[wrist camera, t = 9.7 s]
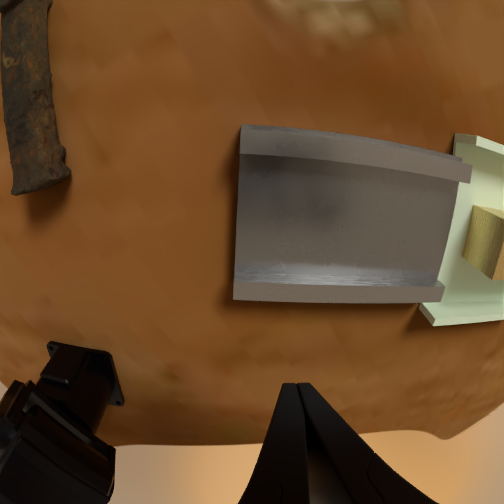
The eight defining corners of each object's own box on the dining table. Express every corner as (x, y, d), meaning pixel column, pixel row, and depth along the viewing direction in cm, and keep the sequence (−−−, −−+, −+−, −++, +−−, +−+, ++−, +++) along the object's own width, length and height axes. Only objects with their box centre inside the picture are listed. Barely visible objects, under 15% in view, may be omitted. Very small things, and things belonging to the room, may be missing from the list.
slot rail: (424, 289, 21) (439, 306, 19) (234, 284, 21) (232, 304, 18) (452, 155, 17) (473, 160, 15) (242, 124, 17) (241, 124, 15)
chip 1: (494, 258, 20) (524, 279, 16) (461, 256, 20) (491, 280, 16) (506, 210, 18) (539, 227, 15) (473, 204, 18) (508, 221, 15)
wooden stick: (81, 177, 18) (42, 192, 14) (38, 188, 18) (-3, 205, 14) (75, -54, 11) (46, -77, 7) (32, -32, 11) (1, -49, 7)
